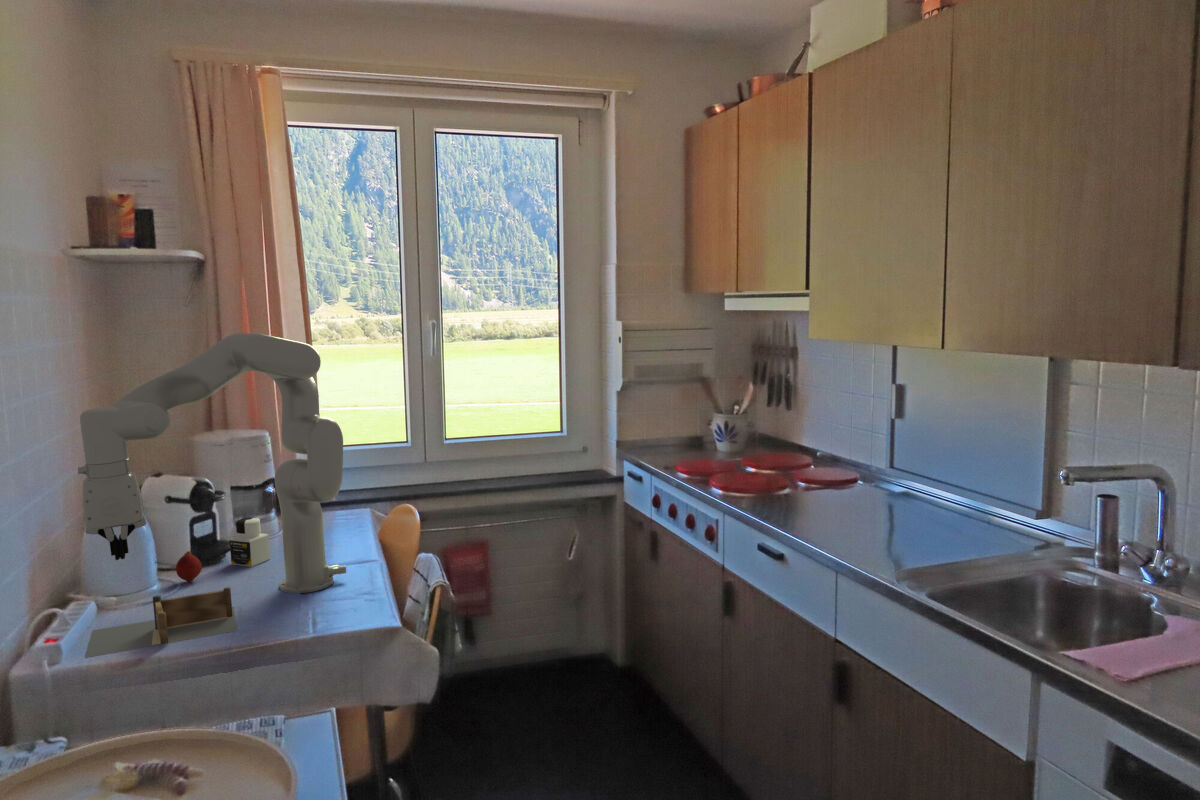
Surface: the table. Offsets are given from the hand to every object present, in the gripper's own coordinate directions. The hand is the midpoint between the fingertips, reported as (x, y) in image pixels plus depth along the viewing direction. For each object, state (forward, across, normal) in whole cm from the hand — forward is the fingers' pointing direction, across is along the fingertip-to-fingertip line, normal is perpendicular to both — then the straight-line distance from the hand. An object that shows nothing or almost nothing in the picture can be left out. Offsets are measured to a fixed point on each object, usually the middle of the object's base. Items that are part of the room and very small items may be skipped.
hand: (120, 557), depth 172 cm
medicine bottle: (+21, +26, +49) cm, 59 cm away
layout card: (+19, +6, +5) cm, 21 cm away
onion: (+20, +11, +39) cm, 45 cm away
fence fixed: (+19, +12, +7) cm, 23 cm away
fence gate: (+18, +6, 0) cm, 19 cm away
